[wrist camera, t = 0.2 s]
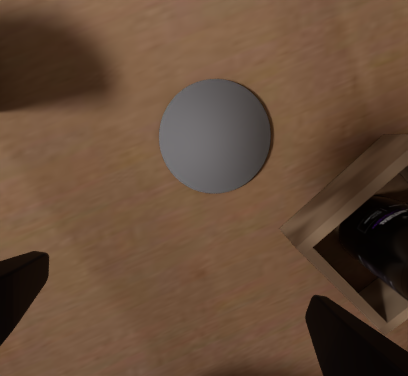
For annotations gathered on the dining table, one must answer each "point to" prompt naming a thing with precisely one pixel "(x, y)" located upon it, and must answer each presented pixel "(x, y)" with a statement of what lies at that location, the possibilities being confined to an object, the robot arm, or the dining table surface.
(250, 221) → the dining table surface
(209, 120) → the coaster
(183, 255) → the dining table surface
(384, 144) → the walnut box
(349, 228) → the supplement bottle
